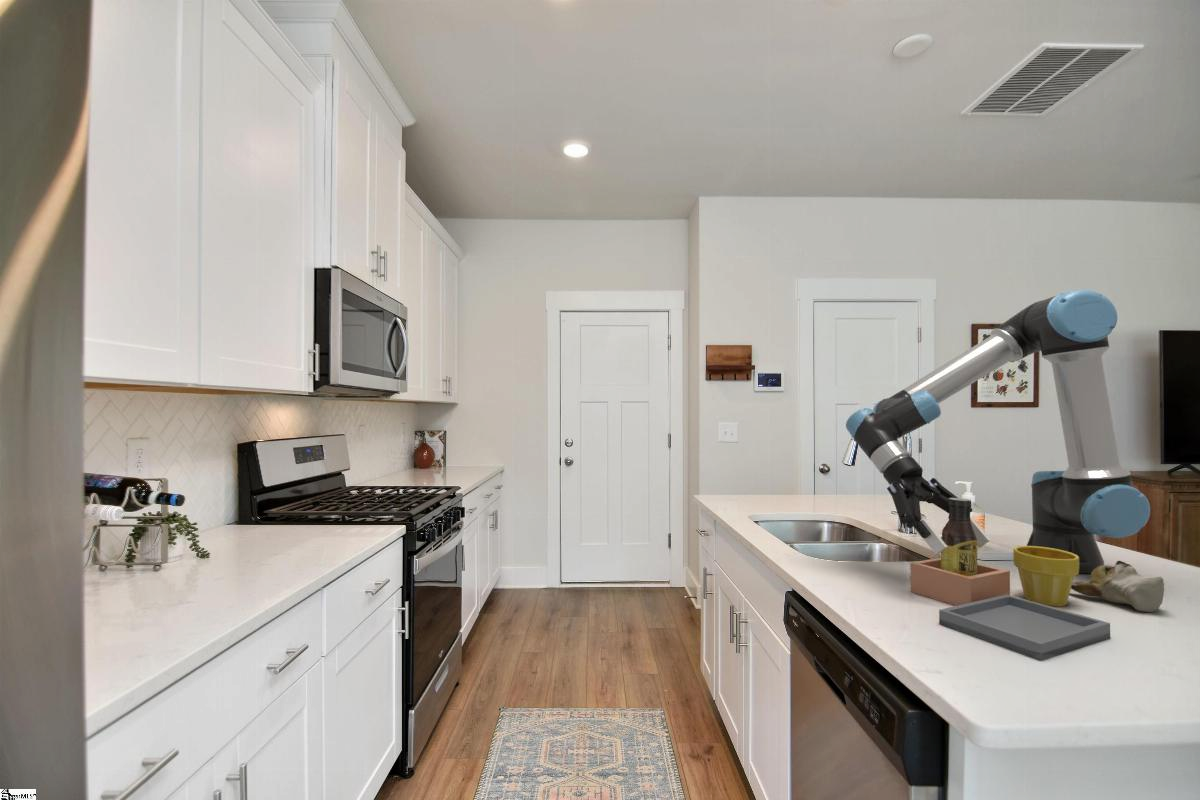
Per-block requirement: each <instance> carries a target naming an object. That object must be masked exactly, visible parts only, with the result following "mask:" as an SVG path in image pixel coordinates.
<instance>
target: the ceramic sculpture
mask: <svg viewBox="0 0 1200 800" xmlns="http://www.w3.org/2000/svg"><path fill="white" fill-rule="evenodd" d="M1071 590H1072V591H1073V592H1076V593H1078V594H1081V595H1083V596H1088V597H1099V598H1100V599H1102V600H1103V601H1106V602H1110V603H1112V604H1113V603H1114V604H1118V605H1131V606H1132V607H1133V608H1134V609H1135V610H1136V611H1139V612H1143V613H1153V612H1155V611H1156V610H1158V609H1160V607H1161V605H1162V604H1163V600H1164V596H1165V582H1164V578H1163V577H1162V576H1154V577H1153V576H1151V577H1146V576H1142V575H1141V574H1139V573H1138V572H1137V570H1136V568H1135V567H1133V566H1132V565H1131V564H1130V563H1126V562H1125V561H1122V560H1118V561H1116V562H1115V564H1114V565H1113V564H1104V565H1102V566H1098V567H1097V568H1095V569H1094V570H1093V571H1092V573H1090V578H1089V580H1088V581H1082V580H1077V581H1075V582H1074V581H1073V583H1072V586H1071Z"/></svg>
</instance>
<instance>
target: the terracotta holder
mask: <svg viewBox="0 0 1200 800" xmlns="http://www.w3.org/2000/svg"><path fill="white" fill-rule="evenodd" d="M910 592H911V593H914V594H917V595H920V596H924V597H927V598H931V599H934V600H936V601H940V602H942V603H946V604H949V605H952V606H958V605H963V604H967V603H971V602H976V601H980V600H985V599H989V598H993V597H998V596H1002V595H1011V571H1010V570H1007V569H1003V568H999V567H994V566H990V565H986V564H982V563H978V562H977V575H973V576H965V575H961V574H957V573H953V572H950V571H946V570H942V569H941V557H937V558H931V559H925V560H924V559H923V560H919V561H914V562H910Z"/></svg>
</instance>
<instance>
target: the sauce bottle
mask: <svg viewBox="0 0 1200 800" xmlns="http://www.w3.org/2000/svg"><path fill="white" fill-rule="evenodd" d="M948 505H949V513H948V521H947V522H946V524H945V526H943V528H942V531H941V537H942V540H943V542H944V543H945V544H946V545H947V548H945V549H944V550H943V551H942V552H941V553H940V558H941V569H942V570H946V571H950V572H953V573H957V574H961V575H965V576H973V575H977V563H978V546H977V538H976V535H975V533H974V530H973V527H972V525H971V522H970V520H971V519H970V517H971V513H970V508H972V500H971V499H968V498H962V497H958V498H948Z"/></svg>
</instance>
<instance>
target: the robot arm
mask: <svg viewBox="0 0 1200 800" xmlns="http://www.w3.org/2000/svg"><path fill="white" fill-rule="evenodd" d="M1117 323H1118V312H1117V309H1116V306H1115V305H1114V304H1113V302H1112V301H1111V300H1110V299H1109V298H1108V297H1107V296H1104V295H1103V294H1101V293H1099V292H1097V291H1095V290H1090V289H1077V290H1072V291H1067V292H1063V293H1059V294H1057V295H1055V296H1052V297H1051V296H1050V297H1049V298H1045V299H1044V300H1040V301H1036V302H1033V303H1032V304H1030V305H1027V306H1026V307H1025V308H1023V309H1021V310H1020V311H1019V312H1017V313H1016V314H1015V315H1013V316H1011V317H1010V318H1009V319H1007V320H1006V321H1004V322H1003V323H1001V324H1000V325H998V326H997V327H995V328H994V329H992V330H991V332H990V333H989V334H990V336H988V337H987V338H985V339H984V340H982V341H980V342H979V343H976V345H974V346H972V347H970V348H969V349H967V350H965V351H964V352H962V353H961V354H959V355H957V356H955V357H954V358H952V359H951V360H949V361H947V362H946V363H944V364H943V365H941V366H939V367H938V368H936V369H934V370H933V371H931V372H929V373H928V374H926V375H925V376H923V377H921V378H920V379H917V380H916V381H915V382H913V383H911V384H910V385H908V386H906V387H905V388H903V389H902V390H900V391H898V392H896V393H895V394H893V395H892V396H890V397H887V398H883V399H881V400H880V401H878V402H877V403H876V404H875V405H874V407H873V409H872V408H868V407H865V408H863V409H862V408H861V409H858V410H856V411H855V412H853V413H852V414H851V415H850V416H849V417H848V418H847V420H846V423H845V428H846V430H847V431H848V433H849V434H850V436H851V437H852V439H853V441H854V442H855V443H856V444H857V445H858V446H859V448H861V451H863V452H864V454H865V455H866V457H868V459H869V460H870V461H871V462H872V464H873V465H874V466H875V467H876V469H877V470H878V471H879V473H880V474H881V475H882V476H883V478H884V479H885V481H886V482H887V483H888V485H889V486H888V487H887V488H886V489H887V491H888V493H889V494H890V496H891V497H892V498H891V499H892V500H893V501H892V502H893V504H894V506H895V509H896V513H897V515H898V518H899V521H900V523H901V524H902V525H905V526H906V528H908V529H912V528H913V529H915V531H916V532H917V533H918V534H919V536H920V537H921V538H922V539H923V541H925V543H927V544H926V545H928V546H929V547H930V549H931V551H933V553H934V554H935V555H939V554H941V553H940V552H942V551H943V550H944V549H945V548H947V545H946V544H945V543H944V542H943V540H942V539H941V537H940V535H939V533H937V531H936V530H935V529H934V528H933V526H932V525H931V524H930V523H929V522H928V520H927V519H926V518H923V519H922V512H921V507H920V506H921V503H920V502H925V503H928V504H932V505H934V506H936V507H938V508H939V509H941V510H942V511H944V512H946V513H947V514H949V505H948V498H959V497H958V496H956V495H955V494H954V493H953V492H951V491H950V490H949V489H947V488H946V487H944V486H943V484H941V483H940V482H939V481H938V480H937V479H936V478H934V477H932V478H931V479H930V480H926V478H924V477H923V470H924V469H923V468H922V466H920V464H919V463H918V462H917V461H916V460H915V458H914V457H912V455H911V454H910V452H909V451H908V450H907V448H905V446H904V445H903V444H902V443H901V442H900V441H899V439H900V438H902V437H903V436H905V435H907V434H910V433H912V432H914V431H916V430H917V429H919V428H921V427H924V426H926V425H927V424H928V425H929V424H930V423H931V422H933V421H934V420H936V419H938V418H939V417H940V416H941V413H942V412H941V410H942V409H941V406H940V405H939V404H940V403H942V402H943V401H946V400H947V399H949V398H950V397H952V396H953V395H955V394H956V393H958V392H960V391H962V390H964V389H965V388H967V387H969V386H971V385H972V384H975V382H977V381H979V380H980V379H982V378H985V377H986V376H987V375H989V374H991V373H993V372H994V371H996V370H997V369H999V368H1000V367H1002V366H1004V365H1006V364H1008V363H1009V362H1011V361H1014V362H1019V361H1021V360H1023V359H1024V358H1026V357H1028V356H1030V355H1032V354H1035V353H1038V352H1041V357H1042V358H1043V359H1045V360H1047V361H1048V362H1049V363H1050V364H1051V367H1052V372H1053V374H1052V375H1053V377H1054V378H1053V380H1054V385H1055V392H1056V397H1057V403H1058V409H1059V415H1060V420H1061V421H1060V422H1061V427H1062V432H1063V438H1064V446H1065V450H1066V456H1067V457H1066V458H1067V463H1068V467H1067V469H1066V470H1042V471H1036V472H1034V473H1033V475H1032V479H1031V486H1030V487H1031V504H1032V505H1031V508H1032V509H1031V510H1032V513H1031V514H1032V532H1031V534H1030V537H1029V538H1028V540H1027V543H1026V546H1038V547H1047V548H1053V549H1059V550H1063V551H1067V552H1070V553H1073V554H1076V555H1077V556H1079V573H1078V574H1091V573H1092V571H1093V570H1094V569H1095V568H1097V567H1098V566H1102V565H1105V559H1104V558H1103V555H1102V552H1101V551H1100V548H1099V546H1098V543H1097V542H1096V539H1095V536H1099V537H1107V538H1112V539H1122V538H1123V539H1124V538H1127V537H1131V536H1133V535H1135V534H1137V533H1138V532H1140V530H1141V529H1142V528H1143V527H1145V526H1146V525H1147V524H1148V522H1149V519H1150V517H1151V516H1150V515H1151V505H1150V502H1149V500H1148V498H1147V497H1146V495H1145V494H1144V493H1143V492H1141V491H1140V490H1139V489H1137V488H1135V487H1134V484H1133V479H1132V474H1131V471H1130V470H1128V469H1126V468H1125V467H1123V466H1122V465H1121V464H1120V460H1119V459H1120V458H1119V454H1118V447H1117V441H1116V436H1115V435H1116V434H1115V429H1114V423H1113V417H1112V411H1111V405H1110V399H1109V394H1108V390H1107V389H1108V388H1107V383H1106V377H1105V369H1104V364H1103V358H1102V357H1103V355H1104V354H1105V353H1106V352H1107V351H1108V350H1109V349H1110V344H1109V343H1110V342H1109V339H1108V337H1109V335H1111V333H1112V332H1113V329H1114V328H1116V326H1117ZM972 512H973V508H972V507H971V508H970V514H971V513H972ZM970 519H971V520H970V522H971V525H972V527H973V530H974V533H975V535H976V538H977V548H979V549H980V548H982V547H983V546H985V545H986V544H987V543H989V542H990V541H991V539H990V538H989V536H987V534H986V533H985V532H984V531H983V530H982V528H981V527H980V526H979V525H978V524H977V522H976V521H975V520H974V519H973V518H972V517H971V516H970Z"/></svg>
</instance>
